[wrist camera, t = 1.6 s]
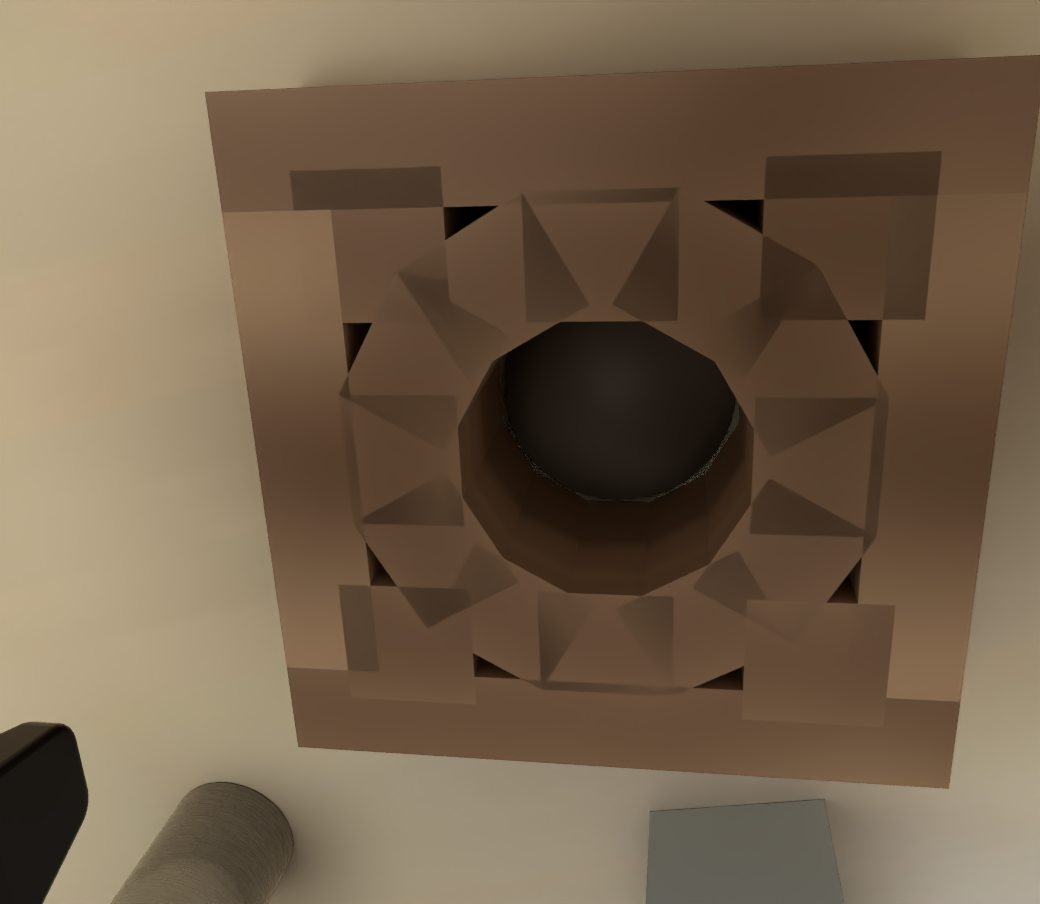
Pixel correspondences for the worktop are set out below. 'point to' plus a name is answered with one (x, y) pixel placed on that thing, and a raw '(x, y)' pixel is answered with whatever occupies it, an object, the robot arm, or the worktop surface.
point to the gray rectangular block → (743, 855)
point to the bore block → (631, 405)
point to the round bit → (214, 851)
